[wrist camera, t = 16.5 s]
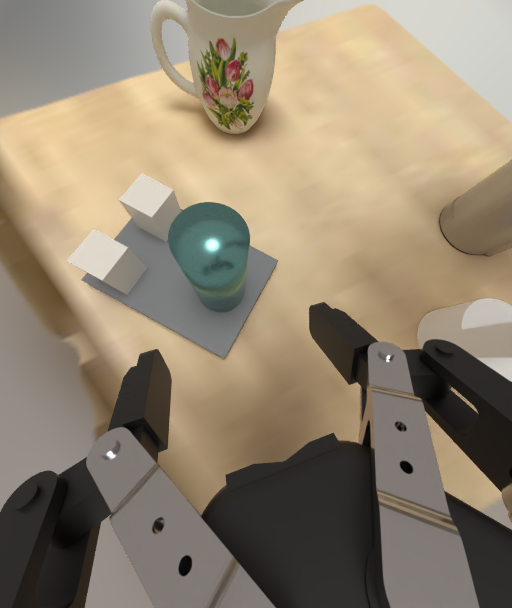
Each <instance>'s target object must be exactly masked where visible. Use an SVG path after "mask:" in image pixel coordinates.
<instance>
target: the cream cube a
mask: <svg viewBox="0 0 512 608" xmlns="http://www.w3.org/2000/svg"><path fill="white" fill-rule="evenodd" d="M67 261H68V262H69V263H71V264H73V265H74V266H76V267H78V268H80V269H81V270H83V271H85V272H87V273H88V274H90V275H92V276H93V277H95V278H97V279H99V280H101V281H102V282H104V283H106V284H108V285H110V286H111V287H113V288H115V289H117V290H119V291H121V292H122V293H124V294H126V295H128V293H129V292H130V291H131V289H132V288H133V287H134V285H135V284H136V283H137V281H138V280H139V278H140V277H141V276H142V274H143V273H144V272H145V270H146V269H147V267H146V266H145V264H144V263H143V262H142V261H141V260H140V259H139V258H138V257H137V256H136V255H135V254H134V253H133V252H132V251H131V250H130V249H129V248H128V247H126V246H124V245H123V244H121V243H119V242H117V241H115V240H113V239H112V238H110V237H108V236H106V235H104V234H102V233H100V232H99V231H97V230H95V229H93V230H92V231H91V233H90V234H89V235H88V236H87V237H86V238H85V240H84V241H83V242H82V243H81V244H80V245H79V247H78V248H77V249H76V250H75V251H74V252H73V254H72V255H71V256H70V257H69V258H68V259H67Z"/></svg>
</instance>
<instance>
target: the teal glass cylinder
mask: <svg viewBox="0 0 512 608" xmlns="http://www.w3.org/2000/svg"><path fill="white" fill-rule="evenodd" d="M168 244H169V248H170V251H171V253H172V255H173V257H174V258H175V260H176V262H177V263H178V265H179V266H180V268H181V270H182V271H183V273H184V274H185V276H186V278H187V279H188V281H189V283H190V284H191V286H192V287H193V289H194V291H195V292H196V294H197V295H198V297H199V299H200V300H201V302H202V303H203V304H204V306H206V307H207V308H208V309H210V310H212V311H215V312H227V311H230V310H232V309H234V308H235V307H237V306H238V305H239V304H240V302H241V301H242V299H243V296H244V290H245V281H246V272H247V262H248V253H249V244H250V234H249V229H248V226H247V224H246V222H245V221H244V219H243V218H242V217H241V215H240V214H239V213H237V212H236V211H235V210H233V209H232V208H230V207H228V206H226V205H223V204H219V203H213V202H205V203H199V204H195V205H192V206H190V207H188V208H186V209H185V210H183V211H182V212H181V213H179V214H178V215H177V216H176V218H175V219H174V220H173V222H172V224H171V226H170V229H169V233H168Z"/></svg>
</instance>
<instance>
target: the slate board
mask: <svg viewBox="0 0 512 608" xmlns="http://www.w3.org/2000/svg"><path fill="white" fill-rule="evenodd" d="M180 210H181V212H182V211H183V210H182V209H180ZM114 240H115V241H117V242H119V243H121V244H123V245H124V246H126V247H128V248H129V249H130V250H131V251H132V252H133V253H134V254H135V255H136V256H137V257H138V258H139V259H140V260H141V261H142V262H143V263H144V264H145V266H146V267H147V269H146V270H145V272H144V273H143V274H142V276H141V277H140V278H139V280H138V281H137V283H136V284H135V285H134V287H133V288H132V289H131V291H130V292H129V293H128V295H126V294H124V293H122V292H121V291H119V290H117V289H115V288H113V287H111V286H110V285H108V284H106V283H104V282H102V281H101V280H99V279H97V278H95V277H93V276H92V275H90V274H88V273H87V274H86V275H85V276H84V277H83V278H82V281H84V282H86V283H88V284H89V285H91V286H93V287H95V288H97V289H99V290H100V291H102V292H104V293H106V294H108V295H109V296H111V297H113V298H115V299H117V300H119V301H120V302H122V303H124V304H126V305H128V306H129V307H131V308H133V309H135V310H137V311H138V312H140V313H142V314H144V315H146V316H148V317H149V318H151V319H153V320H155V321H157V322H158V323H160V324H162V325H164V326H166V327H168V328H169V329H171V330H173V331H175V332H177V333H178V334H180V335H182V336H184V337H186V338H188V339H189V340H191V341H193V342H195V343H197V344H198V345H200V346H202V347H204V348H206V349H208V350H209V351H211V352H213V353H215V354H217V355H218V356H220V357H222V358H224V359H225V357H226V355H227V353H228V352H229V350H230V348H231V346H232V344H233V342H234V341H235V339H236V337H237V335H238V333H239V332H240V330H241V328H242V326H243V324H244V322H245V321H246V319H247V317H248V315H249V313H250V312H251V310H252V308H253V306H254V304H255V303H256V301H257V299H258V297H259V295H260V293H261V292H262V290H263V288H264V286H265V284H266V283H267V281H268V279H269V277H270V275H271V273H272V272H273V270H274V268H275V266H276V264H277V262H278V260H276V259H274V258H272V257H270V256H269V255H267V254H265V253H263V252H261V251H259V250H257V249H255V248H254V247H252V246H250V245H249V253H248V262H247V272H246V281H245V290H244V296H243V299H242V301H241V302H240V304H239V305H238V306H237V307H235V308H234V309H232V310H230V311H227V312H215V311H212V310H210V309H208V308H207V307H206V306H204V304H203V303H202V302H201V300H200V299H199V297H198V295H197V294H196V292H195V291H194V289H193V287H192V286H191V284H190V283H189V281H188V279H187V278H186V276H185V274H184V273H183V271H182V270H181V268H180V266H179V265H178V263H177V262H176V260H175V258H174V257H173V255H172V253H171V251H170V248H169V244H168V240H167V242H165V241H163V240H161V239H160V238H158V237H156V236H154V235H152V234H150V233H148V232H147V231H145V230H143V229H141V228H139V227H138V226H137V224H136V223H135V221H134V220H133V219H132V218H131V220H130V221H129V222H128V223H127V225H126V226H125V227H124V228H123V229H122V231H121V232H120V233H119V234H118V236H117V237H116V238H115V239H114Z"/></svg>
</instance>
